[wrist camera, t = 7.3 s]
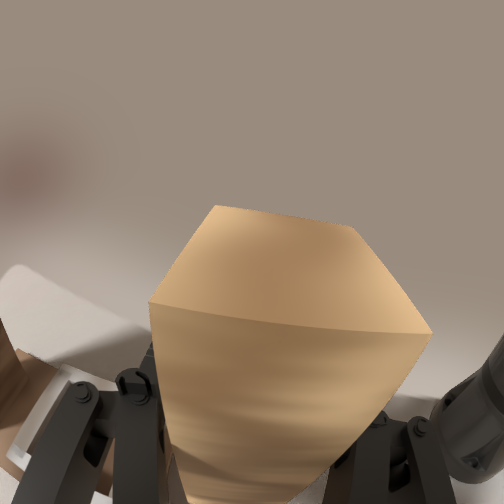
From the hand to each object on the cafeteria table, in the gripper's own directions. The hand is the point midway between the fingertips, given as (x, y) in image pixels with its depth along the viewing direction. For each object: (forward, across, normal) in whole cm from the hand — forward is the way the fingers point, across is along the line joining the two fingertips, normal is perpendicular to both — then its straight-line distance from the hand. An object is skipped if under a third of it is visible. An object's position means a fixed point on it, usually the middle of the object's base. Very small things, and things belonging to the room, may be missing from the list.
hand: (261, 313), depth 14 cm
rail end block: (-5, 0, -9) cm, 11 cm away
